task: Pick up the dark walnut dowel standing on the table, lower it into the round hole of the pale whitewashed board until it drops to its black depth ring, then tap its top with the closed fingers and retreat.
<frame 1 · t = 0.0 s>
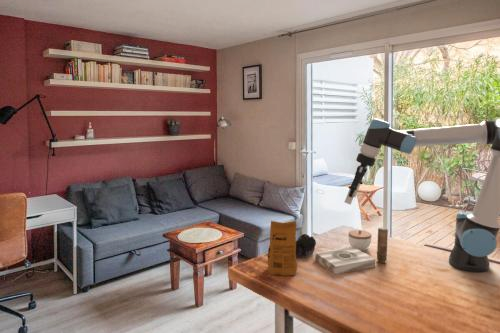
hand: (349, 199, 164), 28 cm above the table, tool tilted 20°, fingers open, 13 cm apart
coffee package: (282, 271, 157), on the table
crystal cluster: (300, 253, 177), on the table
lidded jar: (359, 249, 182), on the table
board: (344, 263, 165), on the table
peg: (381, 261, 166), on the table
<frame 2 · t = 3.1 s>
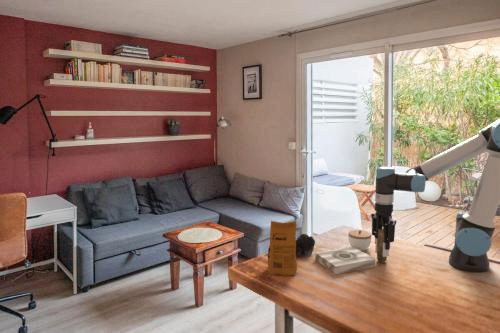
hand: (381, 254, 165), 4 cm above the table, tool pointing down, fingers closed on peg, 4 cm apart
peg: (381, 261, 166), on the table, touching gripper
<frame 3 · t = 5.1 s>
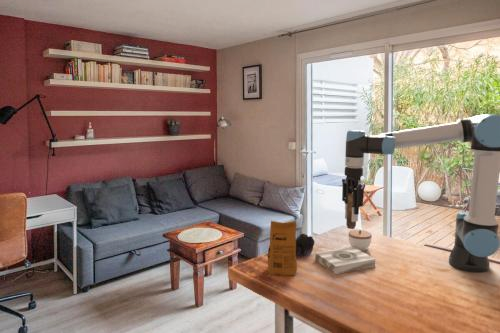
hand: (351, 219, 162), 20 cm above the table, tool pointing down, fingers closed on peg, 4 cm apart
peg: (350, 227, 163), point 16 cm above the table, touching gripper
when the fingers open (5 cm above the table, at t = 7.3 s): peg drops 2 cm, resting in board.
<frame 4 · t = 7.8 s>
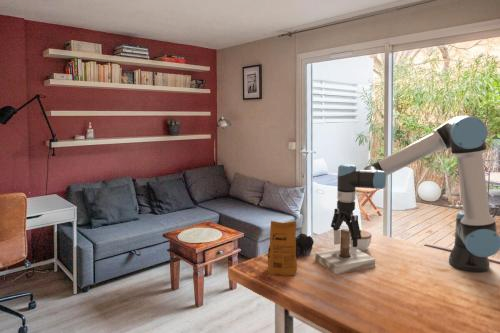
hand: (344, 248, 164), 7 cm above the table, tool pointing down, fingers open, 11 cm apart
peg: (344, 263, 165), resting in board
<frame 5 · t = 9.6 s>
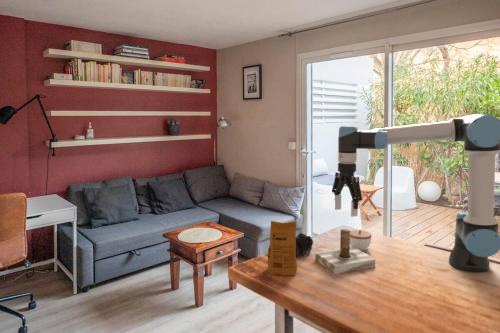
hand: (345, 212, 161), 23 cm above the table, tool pointing down, fingers open, 11 cm apart
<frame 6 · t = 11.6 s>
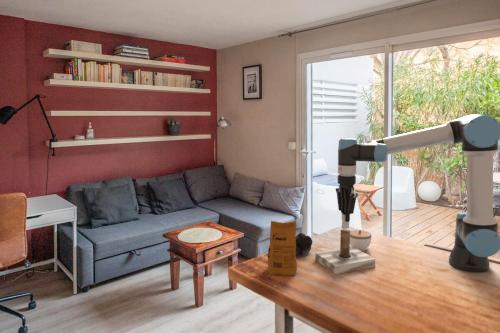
hand: (345, 228, 162), 16 cm above the table, tool pointing down, fingers closed
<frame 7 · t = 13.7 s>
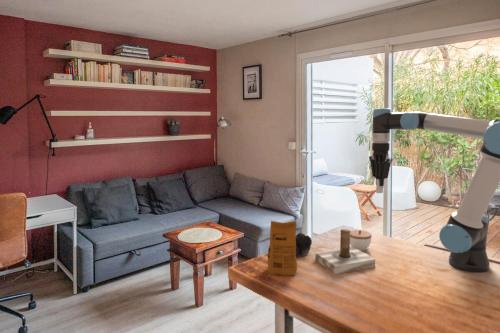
hand: (379, 192, 174), 29 cm above the table, tool pointing down, fingers closed
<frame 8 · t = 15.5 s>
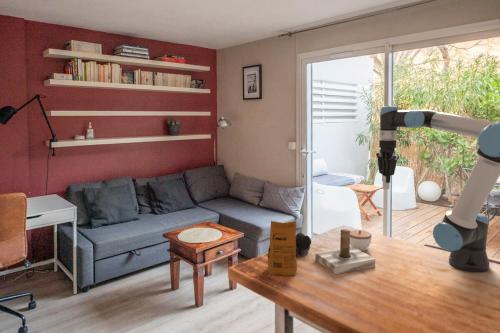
hand: (385, 189, 177), 29 cm above the table, tool pointing down, fingers closed
at the end: peg 0.0 cm from the board (horizontally); peg resting in board; peg tilted 0° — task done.
